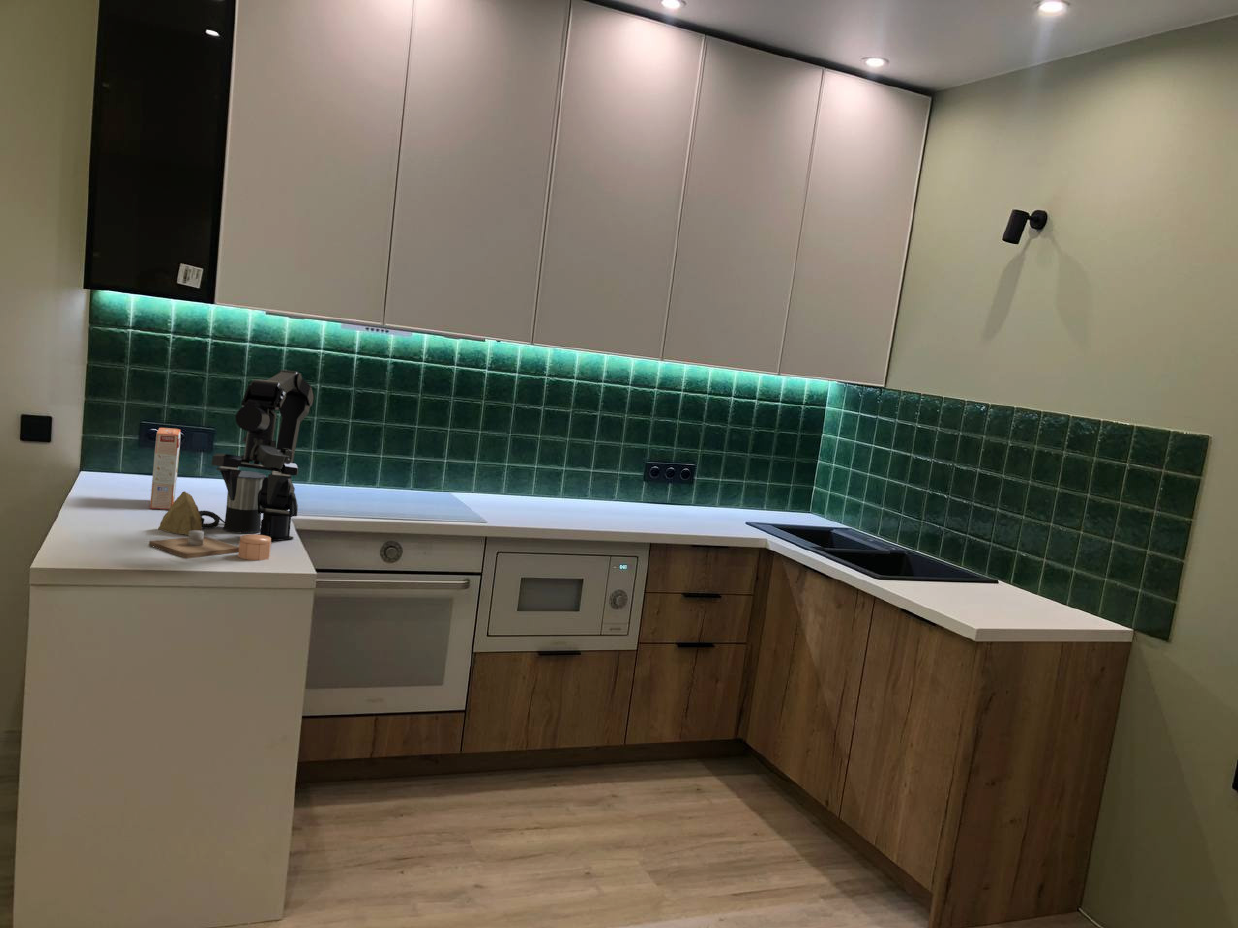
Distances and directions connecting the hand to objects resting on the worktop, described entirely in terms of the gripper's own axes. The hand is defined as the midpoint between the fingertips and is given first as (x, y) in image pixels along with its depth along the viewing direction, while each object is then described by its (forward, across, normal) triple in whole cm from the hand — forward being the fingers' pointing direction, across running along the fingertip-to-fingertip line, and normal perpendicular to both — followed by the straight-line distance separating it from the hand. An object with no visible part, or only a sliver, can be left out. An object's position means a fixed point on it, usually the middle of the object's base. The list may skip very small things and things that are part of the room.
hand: (251, 502), depth 227 cm
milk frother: (+8, +11, +30) cm, 33 cm away
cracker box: (+5, +10, +62) cm, 63 cm away
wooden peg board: (+12, -6, +12) cm, 18 cm away
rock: (+10, -1, +28) cm, 30 cm away
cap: (+12, +3, +1) cm, 13 cm away
